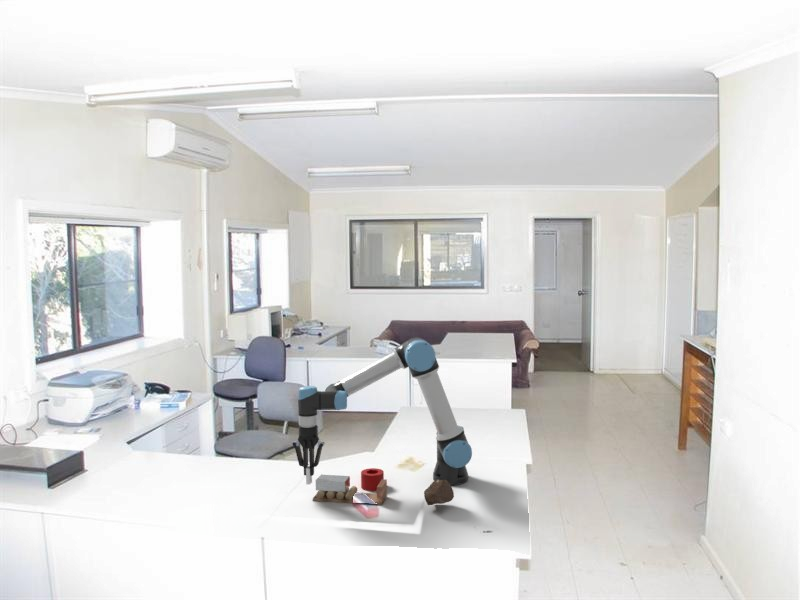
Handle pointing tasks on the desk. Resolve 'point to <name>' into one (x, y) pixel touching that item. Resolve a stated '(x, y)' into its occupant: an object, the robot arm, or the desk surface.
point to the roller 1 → (321, 494)
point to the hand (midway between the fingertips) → (309, 483)
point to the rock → (438, 492)
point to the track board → (377, 498)
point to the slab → (332, 483)
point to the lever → (371, 478)
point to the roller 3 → (351, 493)
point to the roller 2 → (341, 494)
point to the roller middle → (331, 494)
